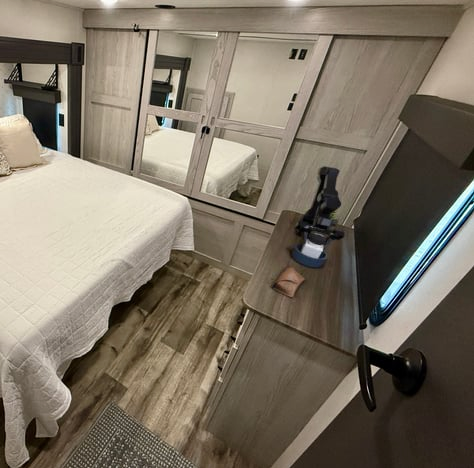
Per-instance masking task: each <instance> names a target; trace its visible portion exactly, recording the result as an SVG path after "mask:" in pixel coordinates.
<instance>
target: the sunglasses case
mask: <svg viewBox="0 0 474 468" xmlns="http://www.w3.org/2000/svg"><path fill="white" fill-rule="evenodd" d="M305 280H306V278H305V277H303V276H302V275H301V274H300V273H299V272H298V271H296V270H295V269H294V268H293V267H292V265H287V266H286V267H285V269H284V270H283V271H282V272H281V273H280V274H279V276H278V277H277V278H276V280H275V281H274V283H272V289H273V290H275V291H277V292H278V293H280V294H282V295H284V296H287V297H289V298H294V296H295V294H296V292H297V290H298V289H299V287H300V286H301V284H302V283H304V281H305Z"/></svg>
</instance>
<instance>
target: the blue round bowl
mask: <svg viewBox="0 0 474 468" xmlns="http://www.w3.org/2000/svg"><path fill="white" fill-rule="evenodd" d="M303 245H304V242H303V243H296V244H295V246H294V248H293V249H292V251H291V253H290V255H291V257H292V258H293V260H295V262H298V263H299V264H301V265H304V266H307V267H311V268H321V267H322V266H323V265H324V264H325V262H326V260H327V258H328V254H327V253H326V251H325V250H323V251H322V253H321V255H320V257H319V258H313V257H309V256H307V255H305V254H303V253H301V249H302V247H303Z"/></svg>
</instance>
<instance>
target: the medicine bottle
mask: <svg viewBox="0 0 474 468" xmlns="http://www.w3.org/2000/svg"><path fill="white" fill-rule="evenodd" d="M326 238H327V237H326V236H324V235H323V234H321V233H310V238H307V241H306V244H304V245H303V247H302V249H301V253H303V254H305V255H307V256H309V257H313V258H319V257H320V255H321V253H322V251H324V250H323V246H324V244H325V241H326Z"/></svg>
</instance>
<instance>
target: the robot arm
mask: <svg viewBox="0 0 474 468" xmlns="http://www.w3.org/2000/svg"><path fill="white" fill-rule="evenodd" d="M340 172H341V170H340V169H338V168H337V167H331V166H325V165H323V166H321V167H319V168H318V170H317V172H316V174H317V176H316V179H317V182H318V185H317V187H316V190H315V193H314V195H313V199H312V202H311V205H310V208H309V209H307V210H306V211H304V213H303V214H302V216H300V218H299V220H298V221H297V222H296V223H295V225H294V229H295V230H296V235H297V236H301V237H302V241H303V243H304V244H306V241H307V239H309V238H310V236H311V234H312V231H313V232H317V233H320V234H326V235H328V236H327V237H325V238H326V241H325V243H324V246H323V251H325V250H326V249H327V247H328V246H329V245H330V243H331V242H332V241H335V240H336V241H340V240H342V239H343V238H345V235H346V232H345V231H344V230H342V229H337V228H336V229H333V230H330V228H332V227H337V226H338V223H339V219H338V218H332V219H331V216H332V214H333V213H335V212H336V211H337V210H339V208H340V207H341V206H342V201H341V200H340V197H339V191H338V190H337V180H338V177H339V174H340Z"/></svg>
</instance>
